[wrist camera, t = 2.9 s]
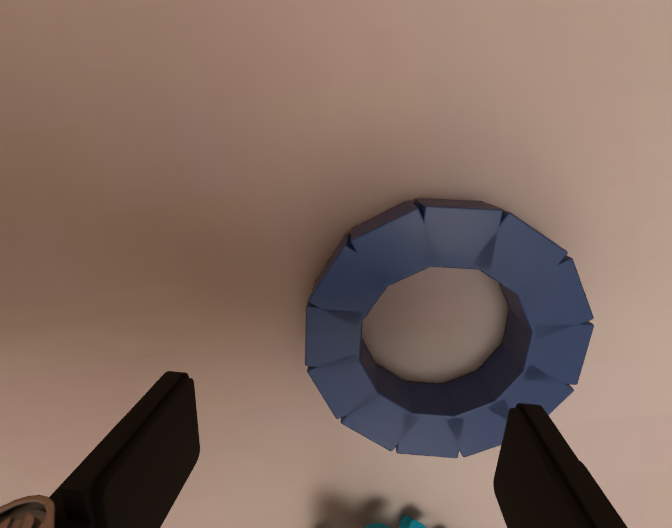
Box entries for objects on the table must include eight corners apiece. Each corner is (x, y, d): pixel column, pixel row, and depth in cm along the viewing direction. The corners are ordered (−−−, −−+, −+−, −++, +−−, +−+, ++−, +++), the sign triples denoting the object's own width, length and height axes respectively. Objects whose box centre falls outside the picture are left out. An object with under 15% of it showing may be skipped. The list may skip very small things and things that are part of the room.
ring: (269, 348, 19) (257, 376, 16) (404, 145, 15) (412, 144, 13) (453, 455, 20) (466, 494, 18) (614, 289, 17) (656, 312, 14)
